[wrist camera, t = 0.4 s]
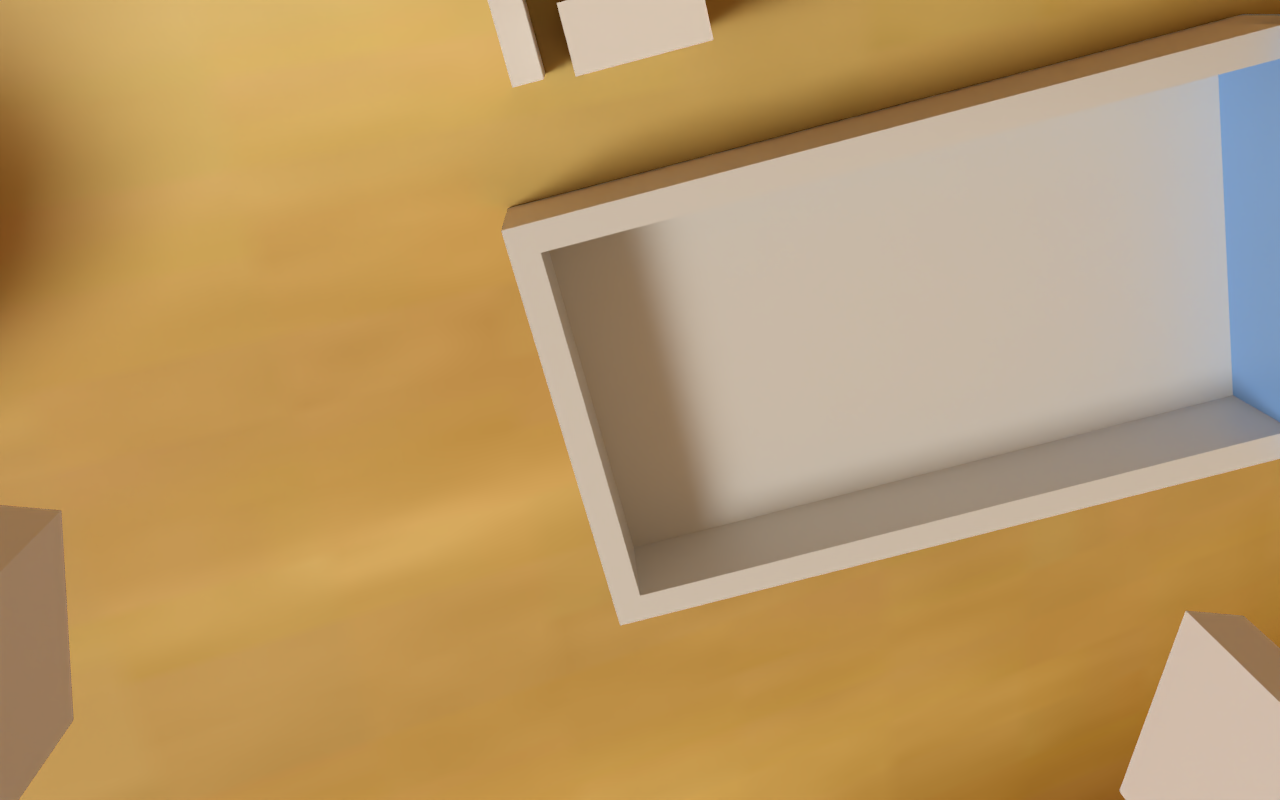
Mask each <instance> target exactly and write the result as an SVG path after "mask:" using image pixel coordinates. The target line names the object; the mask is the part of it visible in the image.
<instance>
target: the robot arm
mask: <svg viewBox="0 0 1280 800" xmlns="http://www.w3.org/2000/svg"><path fill="white" fill-rule="evenodd" d="M72 721H73V703H72V686H71V669H70V651H69V634H68V617H67V600H66V583H65V565H64V548H63V531H62V514H61V510H50V509H39V508H28V507H16V506H5V505H0V800H19V799H20V797H21V796H22V794H23V793H24V791H25V790H26V788H27V787H28V786H29V784H30V783H31V781H32V780H33V778H34V777H35V775H36V774H37V772H38V771H39V770H40V768H41V767H42V765H43V764H44V762H45V761H46V759H47V758H48V756H49V755H50V753H51V752H52V751H53V749H54V748H55V746H56V745H57V743H58V742H59V740H60V739H61V737H62V736H63V735H64V733H65V732H66V730H67V729H68V727H69V726H70V724H71V723H72ZM1120 792H1121V794H1122V795H1123V797H1124V798H1125V800H1280V648H1279V647H1278V646H1276V645H1275V644H1274V643H1273V642H1272V641H1271V640H1270V639H1269V638H1268V637H1266V636H1265V635H1264V634H1263V633H1262V632H1261V631H1260V630H1259V629H1258V628H1256V627H1255V626H1254V625H1253V624H1252V623H1251V622H1250V621H1249V620H1248V619H1246V618H1245V617H1244V616H1239V615H1228V614H1217V613H1206V612H1194V611H1185V614H1184V617H1183V620H1182V622H1181V625H1180V628H1179V631H1178V633H1177V636H1176V639H1175V641H1174V644H1173V647H1172V650H1171V652H1170V655H1169V658H1168V660H1167V663H1166V666H1165V669H1164V671H1163V674H1162V677H1161V679H1160V682H1159V685H1158V688H1157V690H1156V693H1155V696H1154V698H1153V701H1152V704H1151V707H1150V709H1149V712H1148V715H1147V717H1146V720H1145V723H1144V726H1143V728H1142V731H1141V734H1140V736H1139V739H1138V742H1137V745H1136V747H1135V750H1134V753H1133V756H1132V758H1131V761H1130V764H1129V766H1128V769H1127V772H1126V775H1125V777H1124V780H1123V783H1122V785H1121V788H1120Z"/></svg>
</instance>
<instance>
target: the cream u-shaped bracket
mask: <svg viewBox="0 0 1280 800" xmlns="http://www.w3.org/2000/svg"><path fill="white" fill-rule="evenodd" d="M488 3H489V7H490V10H491V14H492V17H493V21H494V24H495V28H496V31H497V35H498V38H499V42H500V45H501V49H502V52H503V56H504V60H505V63H506V67H507V70H508V74H509V77H510V81H511V84H512V88H513V87H517V86H520V85H524V84H528V83H532V82H535V81H539V80H543V79H544V77H545V70H544V66H543V63H542V59H541V55H540V52H539V48H538V44H537V41H536V37H535V33H534V29H533V26H532V22H531V18H530V15H529V11H528V7H527V4H526V0H488ZM557 7H558V10H559V14H560V18H561V22H562V26H563V30H564V33H565V37H566V41H567V45H568V49H569V53H570V56H571V60H572V64H573V68H574V72H575V76H580V75H584V74H587V73H591V72H595V71H599V70H602V69H606V68H610V67H614V66H617V65H621V64H625V63H629V62H632V61H636V60H640V59H644V58H647V57H651V56H655V55H659V54H662V53H666V52H670V51H674V50H677V49H681V48H685V47H689V46H692V45H696V44H700V43H704V42H707V41H711V40H713V35H712V31H711V26H710V21H709V17H708V12H707V7H706V2H705V0H566V1H562V2H558V3H557Z"/></svg>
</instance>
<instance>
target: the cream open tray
mask: <svg viewBox="0 0 1280 800" xmlns="http://www.w3.org/2000/svg"><path fill="white" fill-rule="evenodd" d="M501 231H502V235H503V238H504V241H505V245H506V248H507V251H508V255H509V258H510V261H511V265H512V268H513V271H514V275H515V278H516V281H517V285H518V288H519V291H520V295H521V298H522V301H523V304H524V308H525V311H526V314H527V318H528V321H529V324H530V328H531V331H532V334H533V338H534V341H535V344H536V348H537V351H538V354H539V358H540V361H541V364H542V367H543V371H544V374H545V377H546V381H547V384H548V387H549V391H550V394H551V397H552V401H553V404H554V407H555V411H556V414H557V417H558V421H559V424H560V427H561V430H562V434H563V437H564V440H565V444H566V447H567V450H568V454H569V457H570V460H571V464H572V467H573V470H574V474H575V477H576V480H577V484H578V487H579V490H580V494H581V497H582V500H583V503H584V507H585V510H586V513H587V517H588V520H589V523H590V527H591V530H592V533H593V537H594V540H595V543H596V547H597V550H598V553H599V557H600V560H601V563H602V566H603V570H604V573H605V576H606V580H607V583H608V586H609V590H610V593H611V596H612V600H613V603H614V606H615V610H616V613H617V616H618V620H619V623H620V625H624V624H628V623H632V622H636V621H640V620H644V619H648V618H652V617H656V616H660V615H664V614H668V613H672V612H676V611H680V610H683V609H687V608H691V607H695V606H699V605H703V604H707V603H711V602H715V601H719V600H723V599H727V598H731V597H735V596H739V595H743V594H747V593H751V592H755V591H759V590H763V589H766V588H770V587H774V586H778V585H782V584H786V583H790V582H794V581H798V580H802V579H806V578H810V577H814V576H818V575H822V574H826V573H830V572H834V571H838V570H842V569H846V568H849V567H853V566H857V565H861V564H865V563H869V562H873V561H877V560H881V559H885V558H889V557H893V556H897V555H901V554H905V553H909V552H913V551H917V550H921V549H925V548H929V547H932V546H936V545H940V544H944V543H948V542H952V541H956V540H960V539H964V538H968V537H972V536H976V535H980V534H984V533H988V532H992V531H996V530H1000V529H1004V528H1008V527H1012V526H1015V525H1019V524H1023V523H1027V522H1031V521H1035V520H1039V519H1043V518H1047V517H1051V516H1055V515H1059V514H1063V513H1067V512H1071V511H1075V510H1079V509H1083V508H1087V507H1091V506H1095V505H1098V504H1102V503H1106V502H1110V501H1114V500H1118V499H1122V498H1126V497H1130V496H1134V495H1138V494H1142V493H1146V492H1150V491H1154V490H1158V489H1162V488H1166V487H1170V486H1174V485H1178V484H1181V483H1185V482H1189V481H1193V480H1197V479H1201V478H1205V477H1209V476H1213V475H1217V474H1221V473H1225V472H1229V471H1233V470H1237V469H1241V468H1245V467H1249V466H1253V465H1257V464H1261V463H1264V462H1268V461H1272V460H1276V459H1280V14H1241V15H1237V16H1234V17H1230V18H1226V19H1222V20H1218V21H1215V22H1211V23H1207V24H1203V25H1200V26H1196V27H1192V28H1188V29H1184V30H1181V31H1177V32H1173V33H1169V34H1165V35H1162V36H1158V37H1154V38H1150V39H1146V40H1143V41H1139V42H1135V43H1131V44H1128V45H1124V46H1120V47H1116V48H1112V49H1109V50H1105V51H1101V52H1097V53H1093V54H1090V55H1086V56H1082V57H1078V58H1075V59H1071V60H1067V61H1063V62H1059V63H1056V64H1052V65H1048V66H1044V67H1040V68H1037V69H1033V70H1029V71H1025V72H1022V73H1018V74H1014V75H1010V76H1006V77H1003V78H999V79H995V80H991V81H987V82H984V83H980V84H976V85H972V86H969V87H965V88H961V89H957V90H953V91H950V92H946V93H942V94H938V95H934V96H931V97H927V98H923V99H919V100H915V101H912V102H908V103H904V104H900V105H897V106H893V107H889V108H885V109H881V110H878V111H874V112H870V113H866V114H862V115H859V116H855V117H851V118H847V119H844V120H840V121H836V122H832V123H828V124H825V125H821V126H817V127H813V128H809V129H806V130H802V131H798V132H794V133H791V134H787V135H783V136H779V137H775V138H772V139H768V140H764V141H760V142H756V143H753V144H749V145H745V146H741V147H738V148H734V149H730V150H726V151H722V152H719V153H715V154H711V155H707V156H703V157H700V158H696V159H692V160H688V161H684V162H681V163H677V164H673V165H669V166H666V167H662V168H658V169H654V170H650V171H647V172H643V173H639V174H635V175H631V176H628V177H624V178H620V179H616V180H613V181H609V182H605V183H601V184H597V185H594V186H590V187H586V188H582V189H578V190H575V191H571V192H567V193H563V194H560V195H556V196H552V197H548V198H544V199H541V200H537V201H533V202H529V203H525V204H522V205H518V206H514V207H510V208H508V210H507V213H506V216H505V220H504V223H503V226H502V230H501Z"/></svg>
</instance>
